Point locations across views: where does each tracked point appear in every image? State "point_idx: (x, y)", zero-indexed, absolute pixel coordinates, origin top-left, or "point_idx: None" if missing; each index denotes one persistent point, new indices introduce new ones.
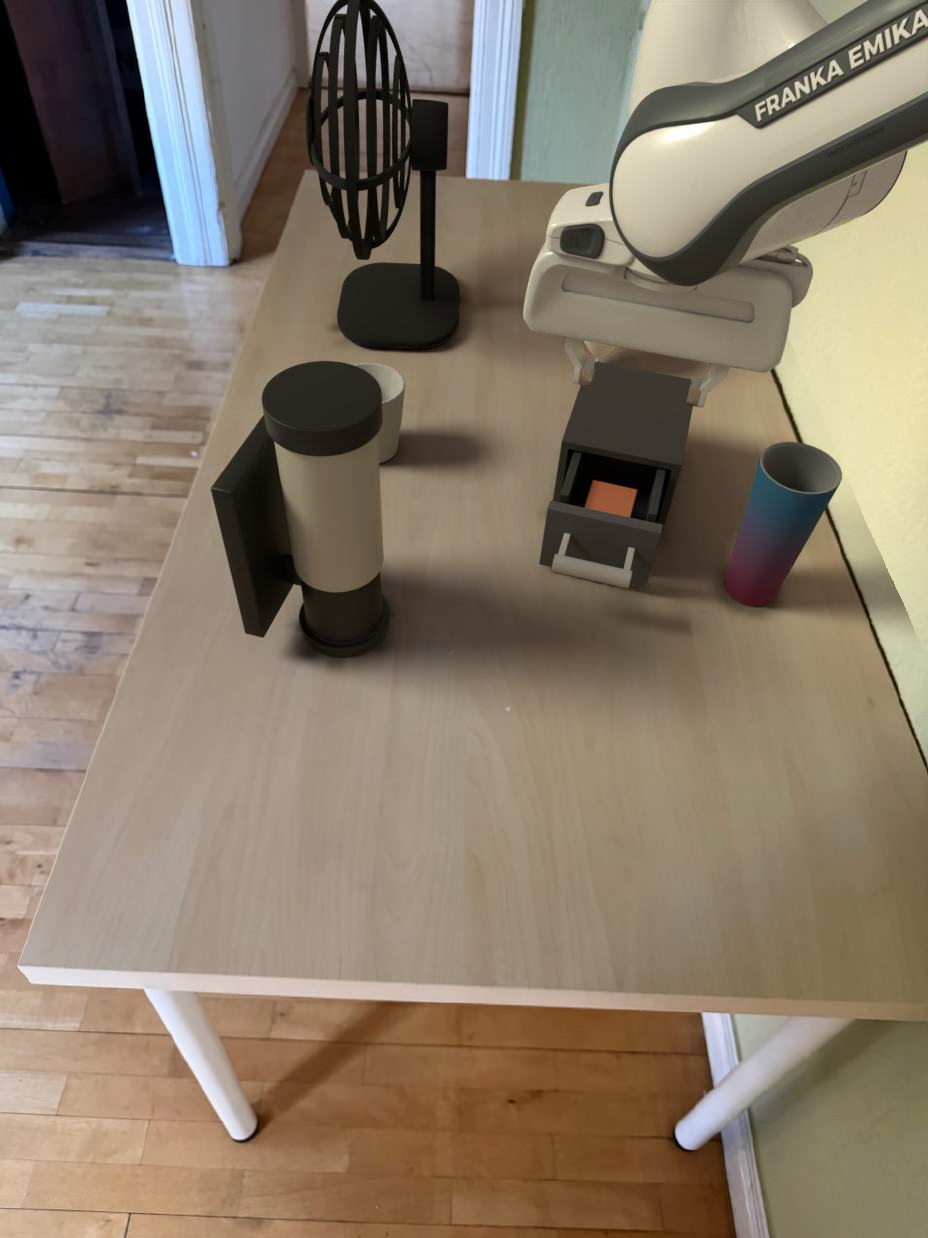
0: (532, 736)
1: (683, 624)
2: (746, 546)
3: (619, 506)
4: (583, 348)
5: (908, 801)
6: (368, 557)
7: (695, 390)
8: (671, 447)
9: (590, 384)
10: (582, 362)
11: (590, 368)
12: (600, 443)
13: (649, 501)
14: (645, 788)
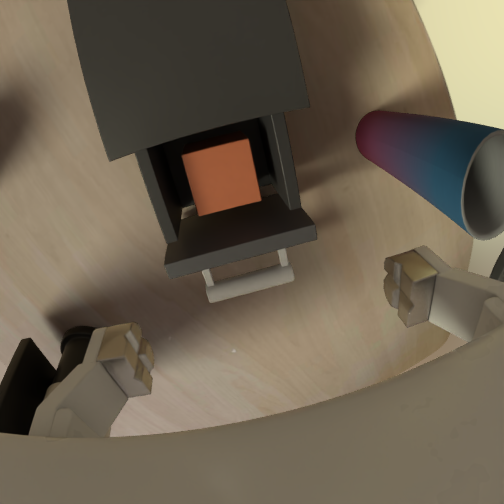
0: (258, 356)
1: (332, 213)
2: (401, 181)
3: (239, 185)
4: (83, 379)
5: (464, 269)
6: (109, 433)
7: (418, 322)
8: (280, 71)
9: (150, 347)
10: (117, 396)
11: (142, 389)
12: (165, 128)
13: (264, 124)
14: (335, 345)
